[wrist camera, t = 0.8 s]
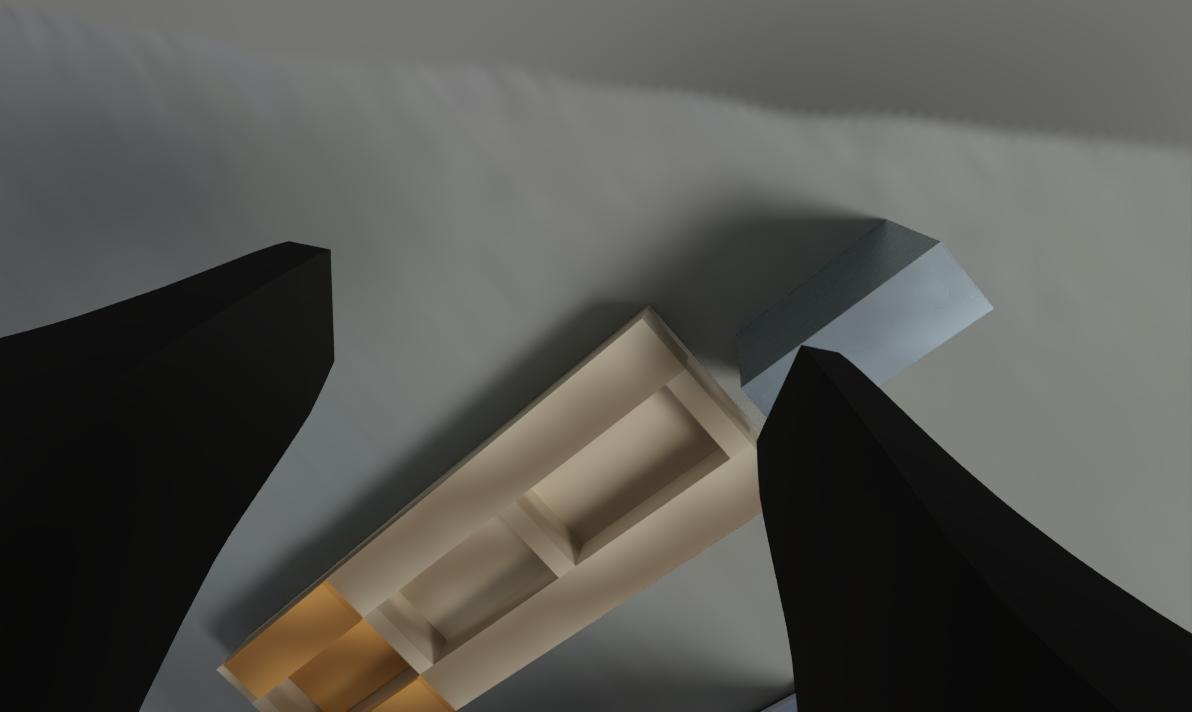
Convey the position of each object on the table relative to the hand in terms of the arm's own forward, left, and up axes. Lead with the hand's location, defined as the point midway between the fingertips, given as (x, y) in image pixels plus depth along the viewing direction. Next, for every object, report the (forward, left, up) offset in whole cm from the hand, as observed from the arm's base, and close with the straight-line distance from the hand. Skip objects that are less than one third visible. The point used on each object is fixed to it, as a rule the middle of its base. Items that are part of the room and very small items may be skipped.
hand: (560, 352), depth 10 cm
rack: (-7, +17, -17) cm, 25 cm away
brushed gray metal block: (-7, -3, -17) cm, 19 cm away
